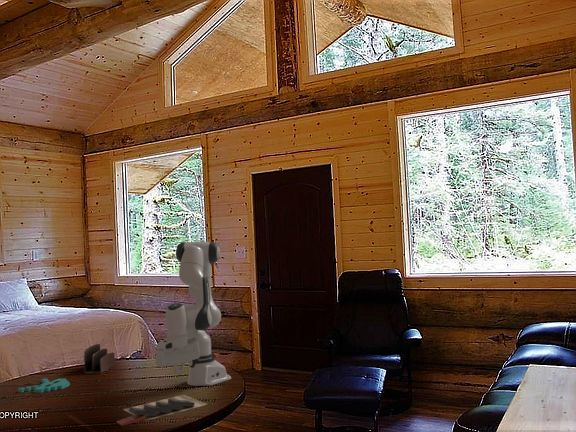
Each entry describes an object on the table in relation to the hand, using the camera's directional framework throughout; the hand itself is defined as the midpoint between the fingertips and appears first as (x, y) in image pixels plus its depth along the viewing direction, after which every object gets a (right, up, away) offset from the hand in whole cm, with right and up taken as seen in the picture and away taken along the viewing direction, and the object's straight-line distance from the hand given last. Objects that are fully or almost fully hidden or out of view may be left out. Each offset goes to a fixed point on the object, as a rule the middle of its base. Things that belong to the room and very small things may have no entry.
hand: (179, 373), depth 239 cm
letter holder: (-62, -21, +79) cm, 102 cm away
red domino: (-11, -12, -18) cm, 24 cm away
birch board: (-5, -14, -4) cm, 16 cm away
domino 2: (-3, -12, -11) cm, 17 cm away
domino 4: (+6, -12, -4) cm, 14 cm away
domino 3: (+2, -12, -7) cm, 14 cm away
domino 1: (-7, -12, -15) cm, 21 cm away
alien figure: (-76, -21, +44) cm, 90 cm away
